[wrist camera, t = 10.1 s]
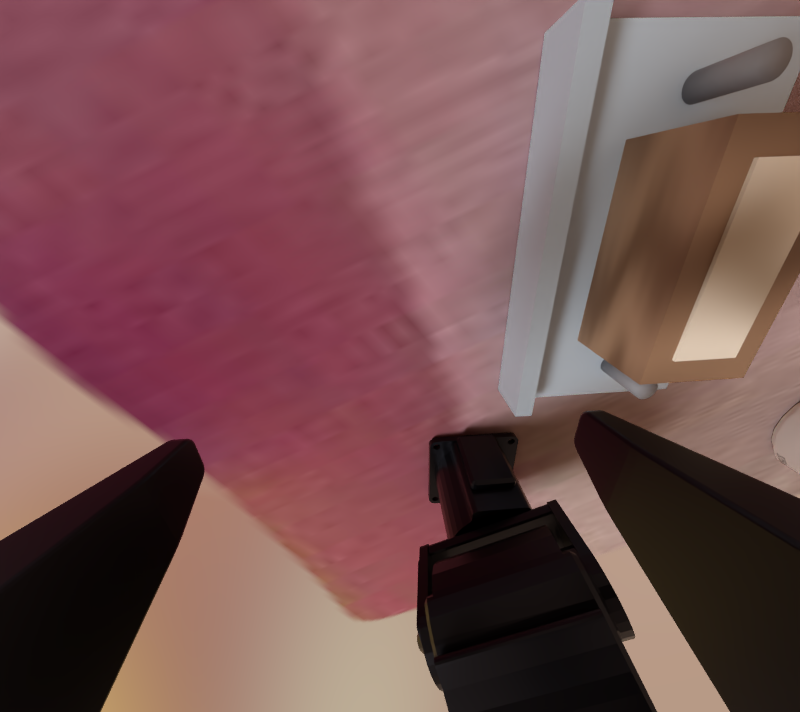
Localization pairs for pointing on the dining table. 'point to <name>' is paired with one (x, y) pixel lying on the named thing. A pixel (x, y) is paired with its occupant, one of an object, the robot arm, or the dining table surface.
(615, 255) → the brown wooden block
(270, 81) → the dining table surface
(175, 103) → the dining table surface
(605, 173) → the ledge
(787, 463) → the supplement can
